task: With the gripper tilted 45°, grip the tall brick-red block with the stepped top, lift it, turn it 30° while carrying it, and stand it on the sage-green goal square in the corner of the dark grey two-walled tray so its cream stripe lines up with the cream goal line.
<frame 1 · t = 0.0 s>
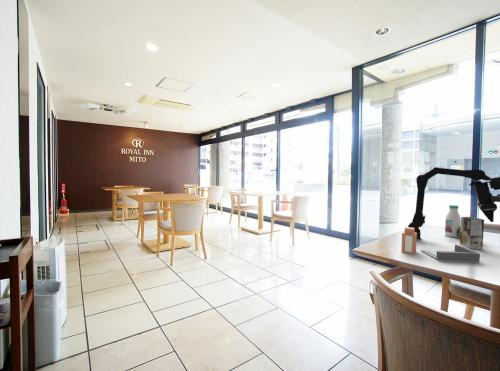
hand: (491, 220, 137), 15 cm above the table, tool pointing down, fingers open, 9 cm apart
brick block: (408, 252, 132), on the table
milk bottle: (452, 236, 165), on the table
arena: (440, 255, 127), on the table
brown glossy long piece: (469, 241, 153), on the table
coffee box: (470, 247, 142), on the table
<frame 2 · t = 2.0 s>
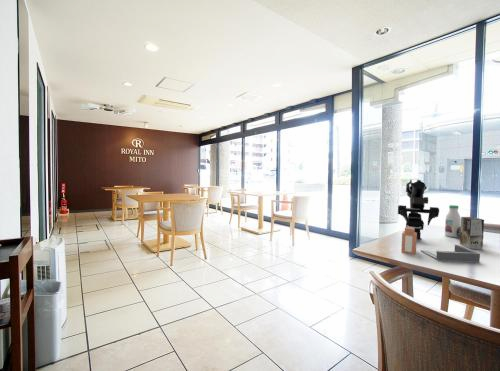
hand: (417, 223, 136), 14 cm above the table, tool tilted 40°, fingers open, 9 cm apart
nothing on the table moved.
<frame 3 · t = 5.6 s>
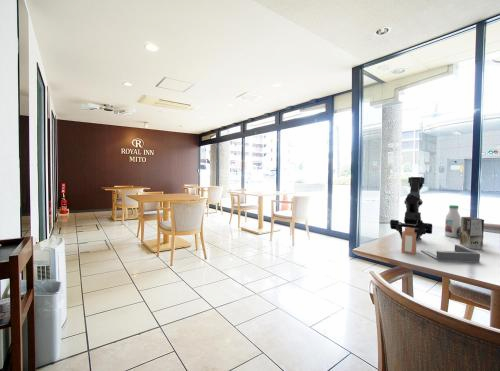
hand: (409, 239, 130), 7 cm above the table, tool tilted 45°, fingers closed on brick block, 6 cm apart
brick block: (408, 251, 132), on the table, touching gripper
everything else where it was.
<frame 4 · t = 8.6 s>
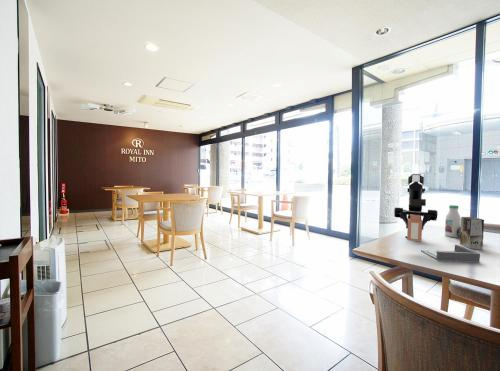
hand: (414, 227, 129), 13 cm above the table, tool tilted 45°, fingers closed on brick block, 6 cm apart
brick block: (414, 239, 130), point 7 cm above the table, touching gripper
everything else where it was.
when the fingers open (8 cm above the table, at t = 11.6 s): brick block stays where it is, resting on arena.
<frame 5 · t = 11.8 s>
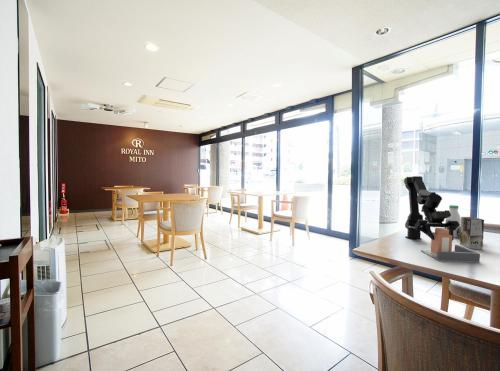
hand: (443, 240, 125), 8 cm above the table, tool tilted 45°, fingers open, 8 cm apart
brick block: (440, 253, 126), point 1 cm above the table, touching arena
everything else where it was.
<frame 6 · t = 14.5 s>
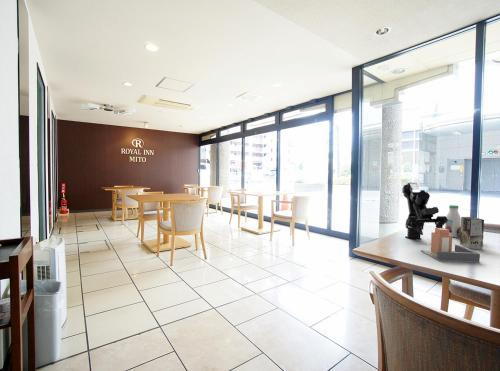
hand: (432, 234, 134), 8 cm above the table, tool tilted 45°, fingers open, 9 cm apart
nothing on the table moved.
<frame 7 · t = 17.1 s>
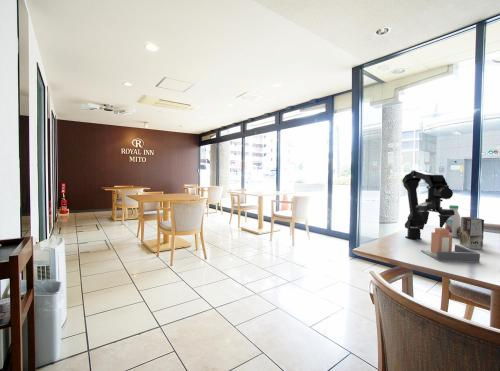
hand: (432, 225, 139), 12 cm above the table, tool pointing down, fingers open, 9 cm apart
nothing on the table moved.
at the end: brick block 0.0 cm off-centre on the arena, point 0.8 cm above the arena's base; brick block tilted 0°; the gripper is holding nothing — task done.
